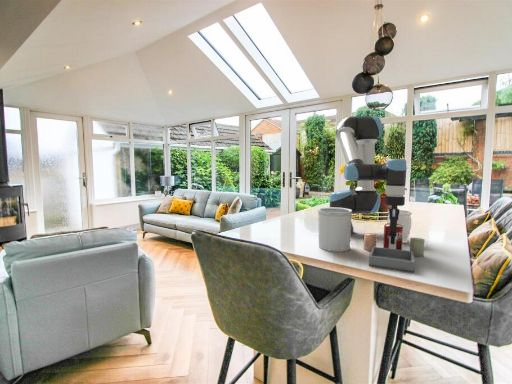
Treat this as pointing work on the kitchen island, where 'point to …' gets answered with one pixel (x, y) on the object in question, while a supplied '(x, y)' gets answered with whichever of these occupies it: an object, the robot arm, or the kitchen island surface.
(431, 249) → the kitchen island surface
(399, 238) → the soda can
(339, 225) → the utensil holder
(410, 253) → the tray
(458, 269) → the kitchen island surface
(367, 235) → the peach glossy rounded knob
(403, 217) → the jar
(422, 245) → the sage green capsule
